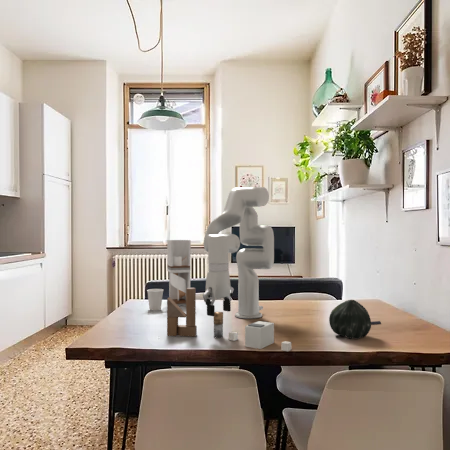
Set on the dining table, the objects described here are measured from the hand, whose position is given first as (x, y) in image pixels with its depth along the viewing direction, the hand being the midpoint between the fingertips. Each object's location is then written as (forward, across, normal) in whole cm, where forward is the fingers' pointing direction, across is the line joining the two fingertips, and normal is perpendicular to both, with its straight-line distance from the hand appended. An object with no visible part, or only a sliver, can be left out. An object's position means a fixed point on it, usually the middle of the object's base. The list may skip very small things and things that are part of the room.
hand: (218, 313), depth 158 cm
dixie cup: (+10, -23, -60) cm, 65 cm away
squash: (+9, -30, +39) cm, 50 cm away
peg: (+9, +1, 0) cm, 9 cm away
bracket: (+11, -58, +31) cm, 67 cm away
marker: (+8, +1, +29) cm, 31 cm away
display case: (+11, -42, -62) cm, 75 cm away
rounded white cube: (+8, +1, +7) cm, 11 cm away
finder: (+8, 0, +18) cm, 20 cm away
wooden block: (+9, +8, -12) cm, 17 cm away
